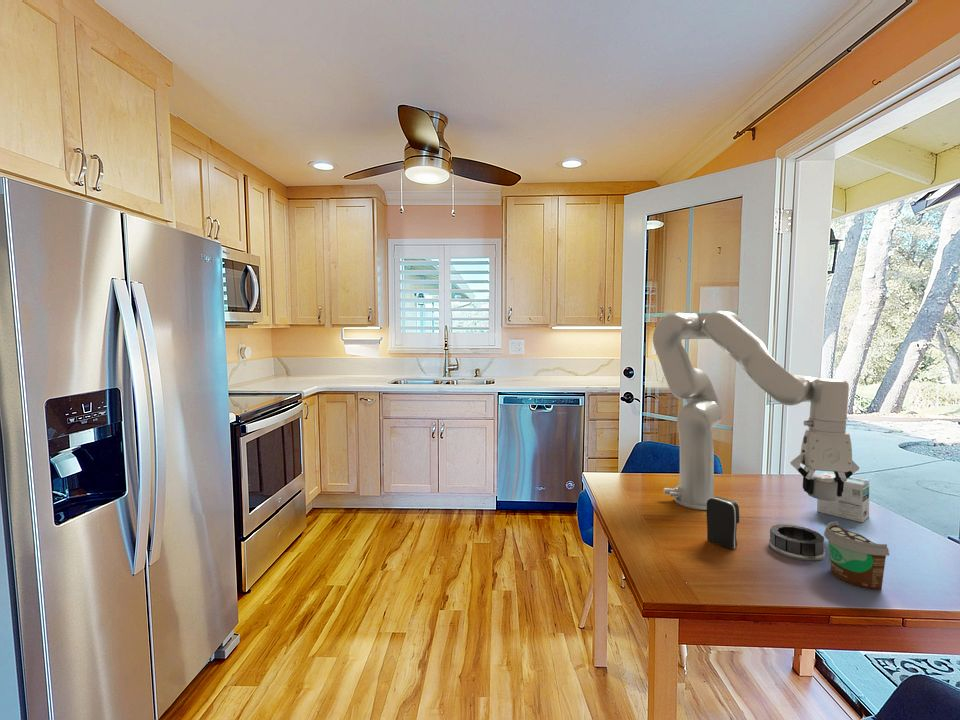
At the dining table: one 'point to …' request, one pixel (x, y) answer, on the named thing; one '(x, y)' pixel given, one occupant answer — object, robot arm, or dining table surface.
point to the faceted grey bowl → (797, 542)
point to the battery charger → (722, 521)
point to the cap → (824, 488)
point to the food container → (855, 558)
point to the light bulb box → (848, 500)
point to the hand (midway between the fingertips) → (822, 493)
